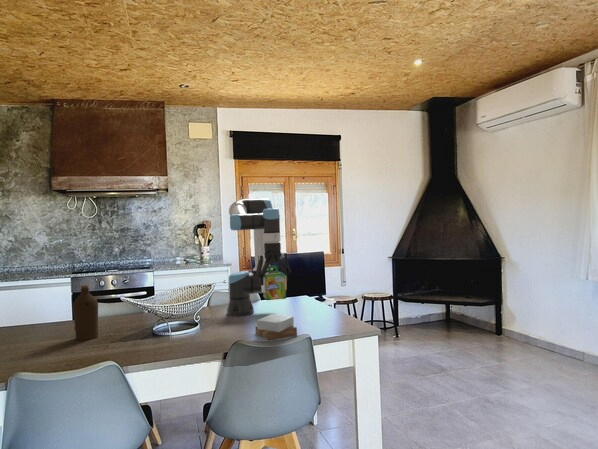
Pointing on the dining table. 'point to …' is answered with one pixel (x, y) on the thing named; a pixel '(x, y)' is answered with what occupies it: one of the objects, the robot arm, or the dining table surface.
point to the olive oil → (85, 315)
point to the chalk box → (275, 284)
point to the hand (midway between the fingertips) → (274, 290)
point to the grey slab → (275, 322)
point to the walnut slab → (277, 333)
